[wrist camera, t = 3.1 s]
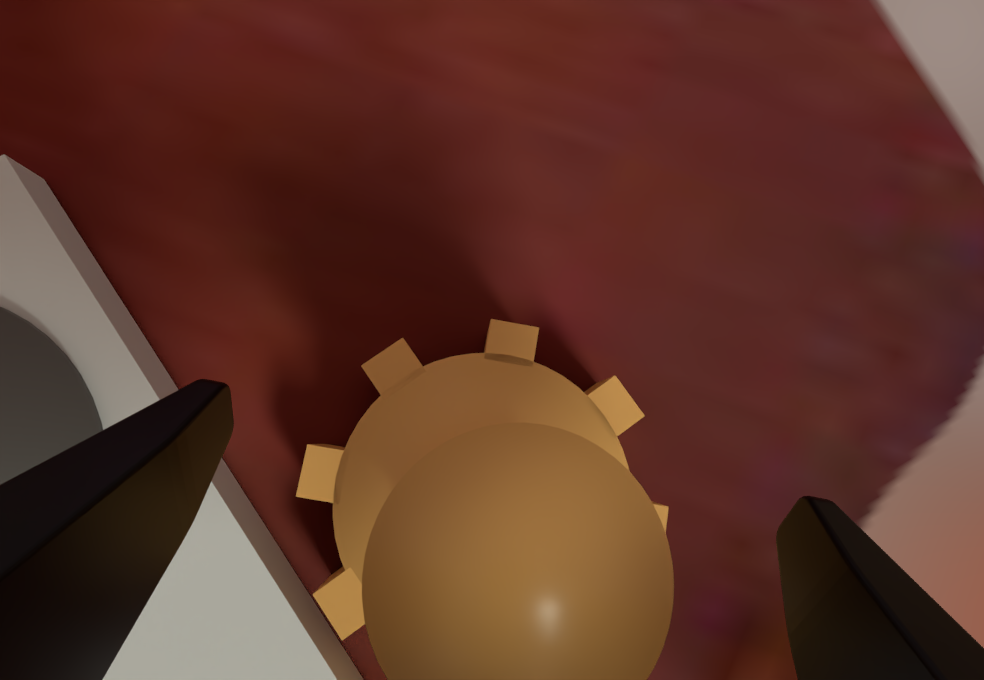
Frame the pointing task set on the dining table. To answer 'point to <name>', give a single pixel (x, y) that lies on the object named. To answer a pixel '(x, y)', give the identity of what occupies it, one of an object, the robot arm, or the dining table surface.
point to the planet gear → (493, 522)
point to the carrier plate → (109, 399)
